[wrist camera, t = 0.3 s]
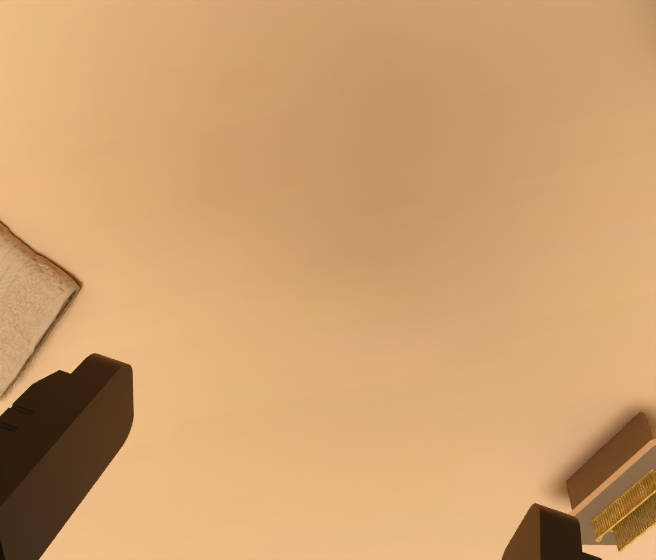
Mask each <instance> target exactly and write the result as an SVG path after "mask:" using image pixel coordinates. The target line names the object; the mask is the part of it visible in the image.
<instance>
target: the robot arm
mask: <svg viewBox="0 0 656 560" xmlns="http://www.w3.org/2000/svg"><path fill="white" fill-rule="evenodd" d="M133 417H134V409H133V372H132V367H131V366H130V365H129V364H126V363H123V362H120V361H117V360H114V359H111V358H108V357H105V356H102V355H100V354H96V353H94V354H91V355H89V356H88V357H87V358H86V359H85V360H84V361H83V362H82V363H81V364H80V365H79V366H78V367H77V368H76V369H75V370H74V371H73V372H72V373H71V374H70V373H67V372H64V371H61V370H58V371H57V372H55V373H53V374H51V375H49V376H47V377H45V378H43V379H41V380H39V381H37V382H36V383H34V384H32V385H31V386H30V387H29V388H28V389H27V390H26V391H25V392H24V393H23V394H22V395H21V396H20V397H19V398H18V399H17V400H16V401H15V402H14V403H13V405H12V407H11V408H8V409H7V410H6V411H5V412H4V413H3V414H2V415H1V416H0V560H39V559H40V557H41V556H42V555H43V553H44V552H45V551H46V549H47V548H48V546H49V545H50V544H51V542H52V541H53V540H54V538H55V537H56V536H57V534H58V533H59V531H60V530H61V529H62V527H63V526H64V525H65V523H66V522H67V521H68V519H69V518H70V517H71V515H72V514H73V512H74V511H75V510H76V508H77V507H78V506H79V504H80V503H81V502H82V500H83V499H84V498H85V496H86V495H87V493H88V492H89V491H90V489H91V488H92V487H93V485H94V484H95V483H96V481H97V480H98V478H99V477H100V476H101V474H102V473H103V472H104V470H105V469H106V468H107V466H108V465H109V464H110V462H111V461H112V459H113V458H114V457H115V455H116V454H117V453H118V451H119V450H120V449H121V447H122V446H123V444H124V443H125V441H126V439H127V437H128V435H129V432H130V430H131V427H132V423H133ZM502 560H602V559H601V558H598V557H595V556H593V555H590V554H587V553H584V552H582V542H581V529H580V523H579V520H578V519H577V517H575V516H572V515H569V514H566V513H563V512H560V511H557V510H554V509H551V508H548V507H545V506H542V505H539V504H536V503H535V504H533V505H532V506H531V507H530V509H529V510H528V512H527V514H526V515H525V517H524V519H523V520H522V522H521V524H520V525H519V527H518V529H517V530H516V532H515V534H514V535H513V537H512V539H511V540H510V542H509V544H508V545H507V547H506V549H505V551H504V554H503V557H502Z"/></svg>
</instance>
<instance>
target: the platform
mask: <svg viewBox="0 0 656 560" xmlns="http://www.w3.org/2000/svg"><path fill="white" fill-rule="evenodd" d="M643 479H644V480H643ZM641 481H642V482H641ZM566 482H567V487H568V492H569V498H570V503H571V508H572V511H571V512H570V513H569V515H572V516H575V517H577V519H578V520H579V523H580V529H581V542H582V545H617V548H618V551H619V552H621V551H622V550H624V549H625V548H626V547H627V546H629V545H630V544H631V543H632V542H634V541H635V540H636V539H637V538H639V537H640V536H641V535H642V534H644V533H645V532H646V531H648V530H649V529H650V528H651V527H653V526H654V525H655V524H656V439H653V436H652V434H651V431H650V429H649V426H648V424H647V421H646V419H645V416H644V414H643V412H640V413H639V414H638V415H637V416H636V417H635V418H633V419H632V420H631V421H630V422H629V423H628V424H627V425H626V426H625V427H624V428H623V429H622V430H621V431H620V432H619V433H617V434H616V435H615V436H614V437H613V438H612V439H611V440H610V441H609V442H608V443H607V444H606V445H605V446H604V447H603V448H602V449H600V450H599V451H598V452H597V453H596V454H595V455H594V456H593V457H592V458H591V459H590V460H589V461H588V462H587V463H586V464H584V465H583V466H582V467H581V468H580V469H579V470H578V471H577V472H576V473H575V474H574V475H573V476H572V477H571V478H570V479H568V480H567V481H566ZM644 482H645V483H644ZM639 483H640V484H639ZM642 483H643V485H642ZM640 485H641V487H640ZM643 486H644V488H643ZM646 487H647V488H646ZM641 488H642V490H641ZM649 488H650V489H649ZM644 489H645V491H644ZM647 490H648V491H647ZM642 491H643V493H642ZM645 492H646V494H645ZM640 493H641V494H640ZM648 493H649V494H648ZM643 494H644V496H643ZM646 495H647V497H646ZM641 496H642V497H641ZM644 497H645V498H644ZM642 499H643V500H642ZM623 500H624V501H623ZM624 504H625V505H624ZM622 506H623V507H622ZM625 508H626V509H625ZM623 509H624V511H623ZM621 511H622V512H621ZM626 511H627V512H626ZM619 513H620V515H619ZM624 513H625V514H624ZM622 514H623V515H622ZM654 519H655V520H654ZM613 520H614V521H613ZM616 521H617V522H616ZM652 521H653V522H652ZM650 523H651V524H650ZM648 524H649V526H648ZM646 526H647V528H646ZM644 528H645V530H644ZM642 530H643V532H642ZM640 532H641V533H640ZM638 534H639V535H638ZM629 539H630V540H629ZM623 544H624V545H623ZM621 545H622V546H621ZM619 546H620V548H619Z"/></svg>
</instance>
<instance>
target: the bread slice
mask: <svg viewBox="0 0 656 560" xmlns="http://www.w3.org/2000/svg"><path fill="white" fill-rule="evenodd" d="M79 291H80V287H79V286H78V285H77V284H76V282H75V281H74V280H73V279H72V278H71V276H69V275H67V274H66V273H65V272H64V271H63V270H61V269H60V268H59V267H57V266H55V265H54V264H52V263H51V262H50V261H49V260H48V259H47V258H44V257H43V256H39V255H37V254H36V253H35V252H34V251H32V250H31V249H29V247H28V246H26V245H25V244H23V243H22V242H21V241H20V240H19V239H17V238H16V237H14V236H13V235H12V234H11V233H10V232H9V229H8V228H7V227H6V226H4V225H2V224H1V223H0V398H1V396H2V395H3V394H4V393H5V390H7V389H8V388H9V387H10V386H11V385H12V384H13V383H14V382H15V381H16V380H17V378H18V377H19V376H20V374H21V373H22V371H23V370H24V369H25V367H26V366H27V364H28V363H29V362H30V360H31V359H32V357H33V356H34V355H35V354H36V352H37V351H38V349H39V348H40V347H41V345H42V344H43V342H44V341H45V339H46V338H47V336H48V335H49V334H50V332H51V331H52V329H53V328H54V326H55V324H56V323H57V322H58V321H59V319H60V318H61V316H62V315H63V314H64V313H65V311H66V310H67V309H68V307H69V306H70V305H71V303H72V302H73V301H74V299H75V298H76V296H77V294H78V293H79Z"/></svg>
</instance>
